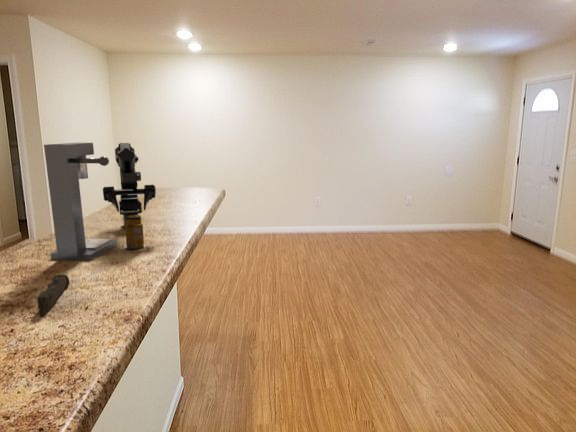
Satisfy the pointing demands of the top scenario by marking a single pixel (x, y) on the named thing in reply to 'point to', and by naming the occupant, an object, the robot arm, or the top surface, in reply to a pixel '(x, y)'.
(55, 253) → the coffee machine
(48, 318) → the top surface
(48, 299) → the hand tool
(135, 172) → the robot arm
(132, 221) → the condiment
